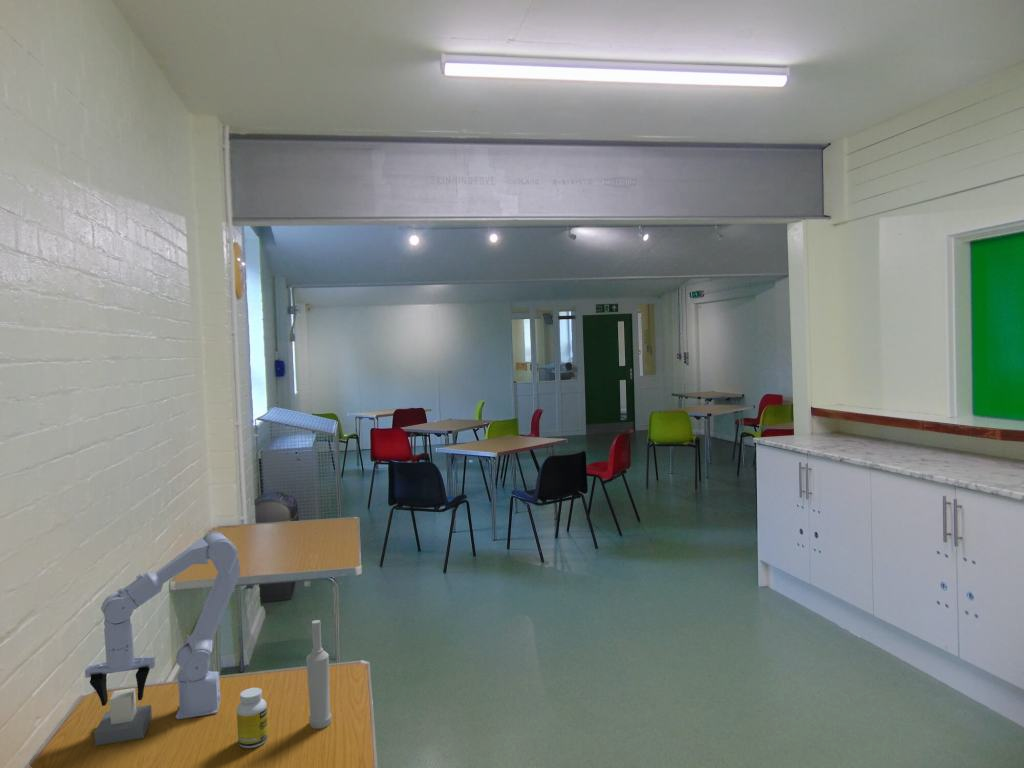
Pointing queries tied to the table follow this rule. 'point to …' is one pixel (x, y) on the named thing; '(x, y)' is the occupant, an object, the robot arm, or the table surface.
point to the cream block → (123, 706)
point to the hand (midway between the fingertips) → (122, 701)
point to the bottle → (318, 681)
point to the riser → (123, 727)
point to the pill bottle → (252, 718)
